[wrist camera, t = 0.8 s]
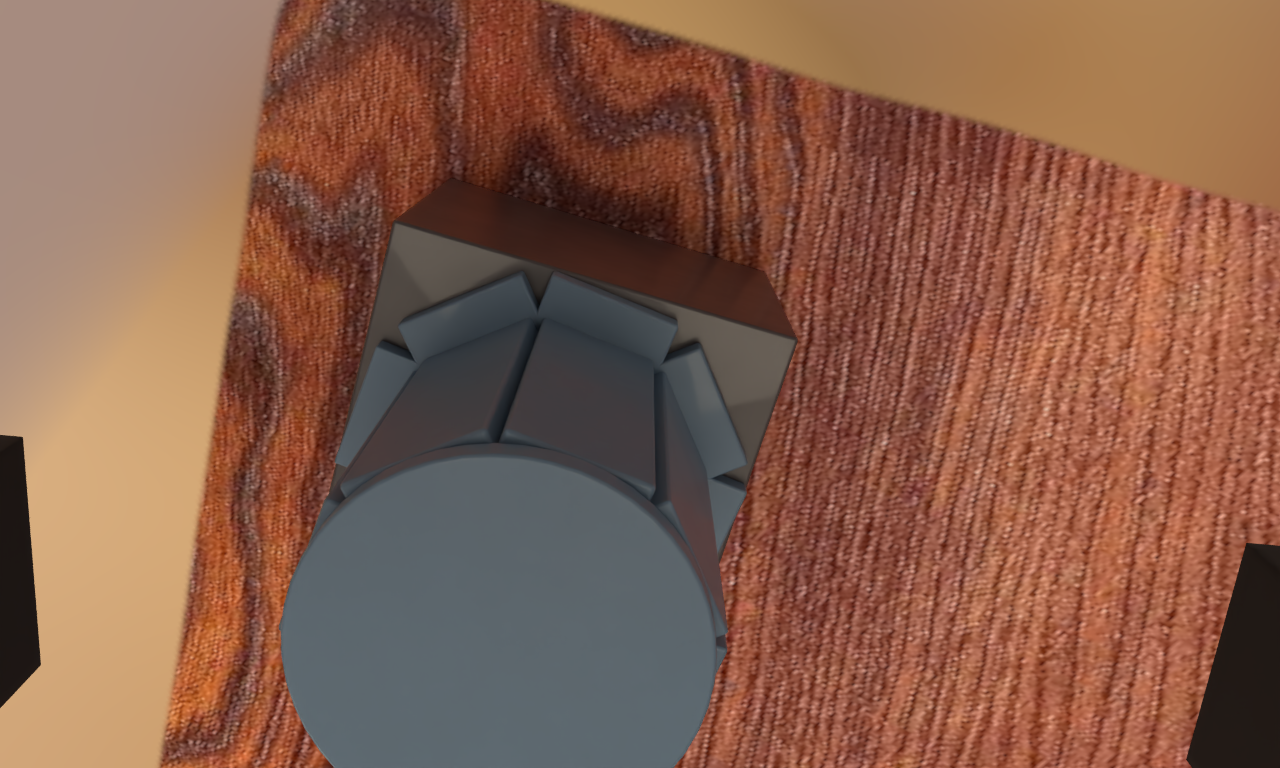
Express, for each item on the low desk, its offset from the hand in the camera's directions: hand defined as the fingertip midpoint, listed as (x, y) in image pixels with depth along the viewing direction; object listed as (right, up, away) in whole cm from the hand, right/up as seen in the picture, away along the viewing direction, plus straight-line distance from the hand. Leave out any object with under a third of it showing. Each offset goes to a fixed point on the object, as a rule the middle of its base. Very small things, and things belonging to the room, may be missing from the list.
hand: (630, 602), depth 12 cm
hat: (-2, 0, +16) cm, 16 cm away
